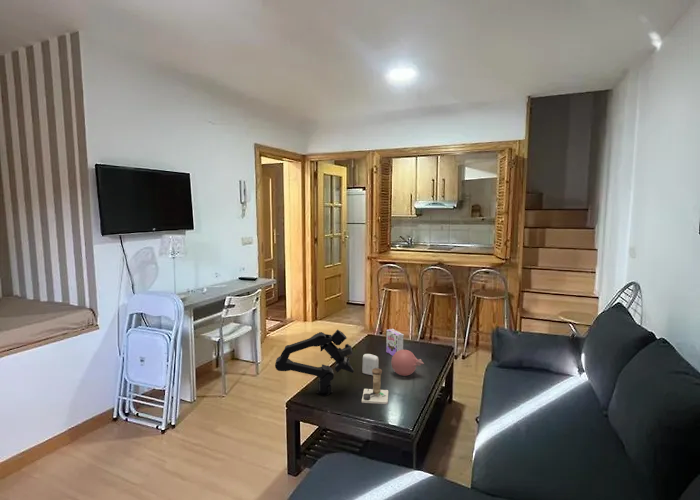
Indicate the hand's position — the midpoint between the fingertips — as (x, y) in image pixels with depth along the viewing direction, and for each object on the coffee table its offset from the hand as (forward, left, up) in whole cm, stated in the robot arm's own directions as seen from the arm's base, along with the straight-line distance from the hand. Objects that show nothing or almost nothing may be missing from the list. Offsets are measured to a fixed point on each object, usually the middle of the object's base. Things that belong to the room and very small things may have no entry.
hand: (353, 371), depth 215 cm
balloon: (+12, +40, -13) cm, 43 cm away
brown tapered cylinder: (+11, +2, -11) cm, 16 cm away
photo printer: (-7, +28, -13) cm, 31 cm away
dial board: (+11, +5, -13) cm, 18 cm away
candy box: (-12, +65, -13) cm, 67 cm away
